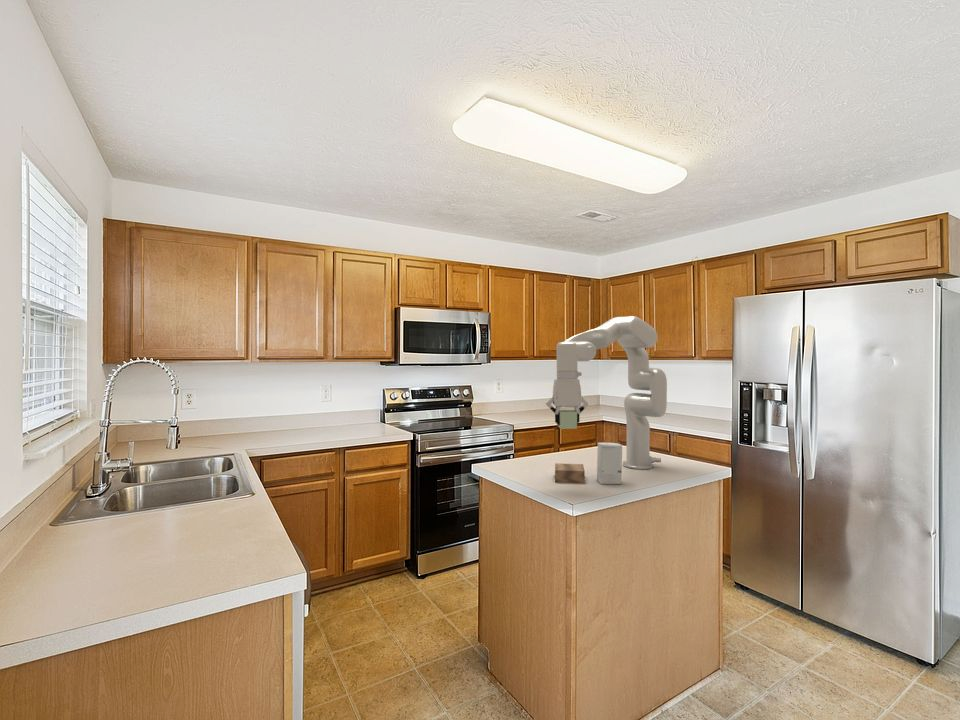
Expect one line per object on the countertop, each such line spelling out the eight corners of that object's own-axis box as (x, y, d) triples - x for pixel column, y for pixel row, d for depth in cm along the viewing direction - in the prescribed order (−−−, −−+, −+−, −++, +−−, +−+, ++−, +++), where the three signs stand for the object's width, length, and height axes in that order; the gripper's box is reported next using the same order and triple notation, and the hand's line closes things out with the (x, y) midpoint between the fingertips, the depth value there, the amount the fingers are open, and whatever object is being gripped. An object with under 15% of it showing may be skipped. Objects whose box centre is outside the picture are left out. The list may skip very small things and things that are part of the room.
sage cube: (573, 425, 180) (573, 409, 180) (577, 428, 174) (576, 411, 174) (557, 425, 180) (557, 409, 180) (560, 428, 174) (560, 412, 174)
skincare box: (600, 484, 181) (600, 445, 180) (596, 480, 187) (596, 441, 186) (622, 484, 181) (622, 444, 180) (618, 479, 187) (618, 441, 186)
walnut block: (583, 476, 193) (583, 464, 193) (584, 484, 182) (584, 471, 182) (555, 475, 195) (555, 463, 195) (555, 483, 184) (555, 470, 184)
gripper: (588, 374, 180) (588, 422, 180) (542, 375, 180) (542, 423, 181) (592, 376, 172) (593, 426, 173) (544, 376, 173) (545, 426, 173)
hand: (567, 424), depth 177 cm, fingers closed on sage cube, 6 cm apart
